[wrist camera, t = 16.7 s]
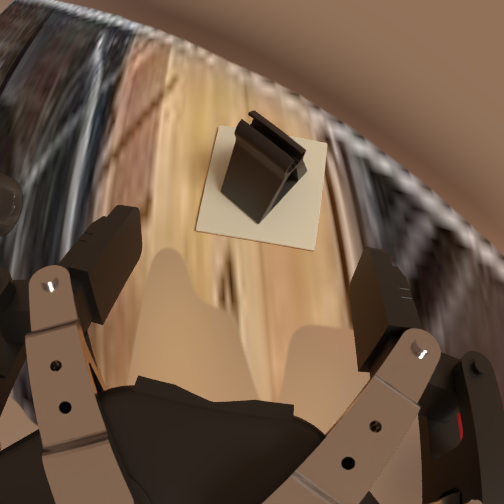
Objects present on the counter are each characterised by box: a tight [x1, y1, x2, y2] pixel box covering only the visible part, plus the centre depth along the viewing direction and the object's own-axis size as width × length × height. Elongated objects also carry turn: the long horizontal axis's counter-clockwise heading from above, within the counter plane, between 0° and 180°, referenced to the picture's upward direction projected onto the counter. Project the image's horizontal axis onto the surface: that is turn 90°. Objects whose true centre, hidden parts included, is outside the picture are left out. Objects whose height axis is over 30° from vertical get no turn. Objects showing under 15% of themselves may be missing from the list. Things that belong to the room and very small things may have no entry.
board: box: [196, 125, 327, 251], centre depth 39 cm, size 14×14×1 cm
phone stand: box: [221, 111, 307, 224], centre depth 33 cm, size 9×6×12 cm, turn 138°
